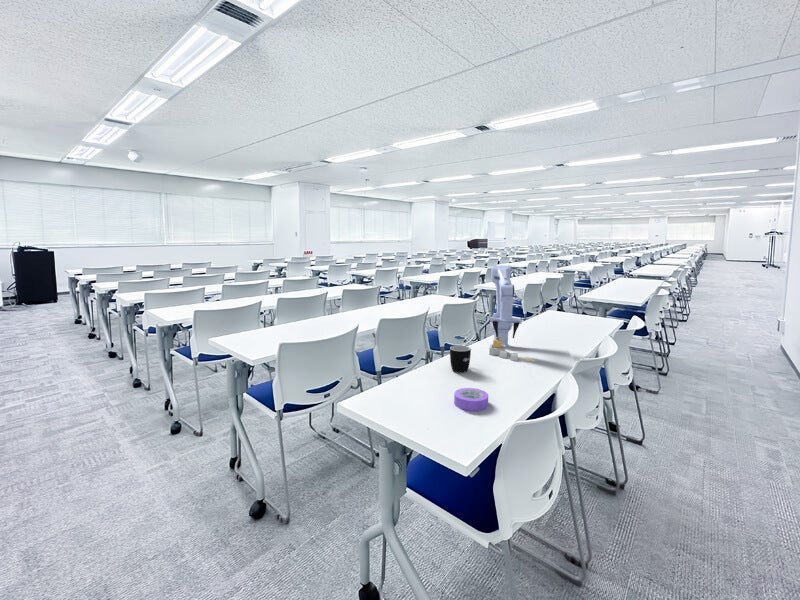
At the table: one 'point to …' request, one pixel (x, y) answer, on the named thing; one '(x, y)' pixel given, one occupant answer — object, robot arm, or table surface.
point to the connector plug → (497, 343)
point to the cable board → (503, 354)
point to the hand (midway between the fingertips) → (505, 337)
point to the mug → (460, 358)
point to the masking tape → (471, 399)
